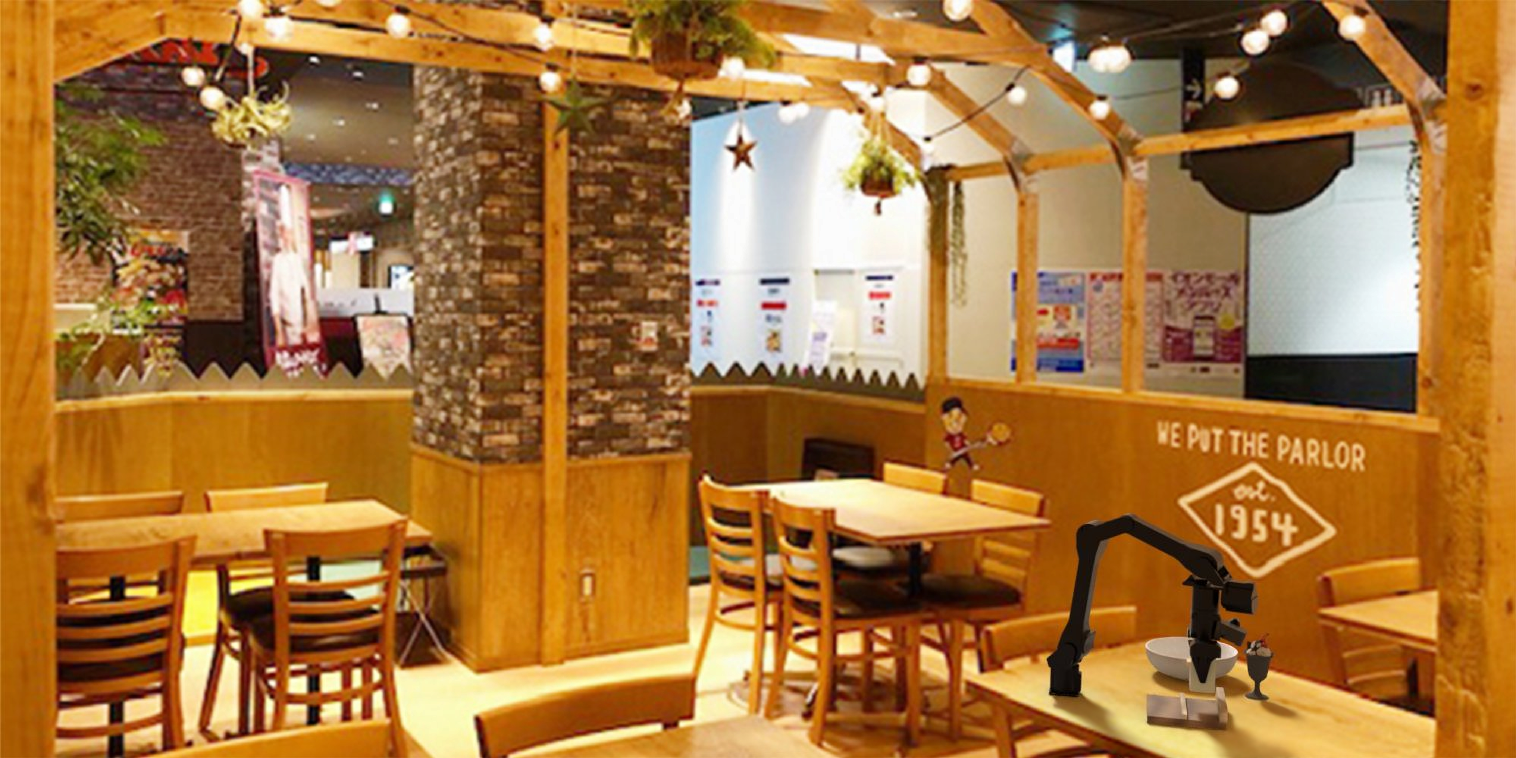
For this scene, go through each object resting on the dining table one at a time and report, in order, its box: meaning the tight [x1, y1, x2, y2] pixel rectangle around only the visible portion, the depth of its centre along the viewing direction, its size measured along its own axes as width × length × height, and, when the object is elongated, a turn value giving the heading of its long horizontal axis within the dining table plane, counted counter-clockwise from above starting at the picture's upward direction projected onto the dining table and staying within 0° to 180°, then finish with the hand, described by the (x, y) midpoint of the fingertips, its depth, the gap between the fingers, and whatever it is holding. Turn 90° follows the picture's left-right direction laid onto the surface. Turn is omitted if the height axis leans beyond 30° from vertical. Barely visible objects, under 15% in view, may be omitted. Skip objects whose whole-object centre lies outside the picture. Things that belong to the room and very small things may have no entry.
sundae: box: [1242, 632, 1275, 701], centre depth 308 cm, size 7×7×15 cm
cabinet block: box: [1186, 656, 1216, 694], centre depth 293 cm, size 6×5×8 cm
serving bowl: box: [1144, 636, 1239, 682], centre depth 325 cm, size 21×21×7 cm
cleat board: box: [1146, 686, 1229, 731], centre depth 295 cm, size 16×16×4 cm
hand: (1202, 679), depth 293 cm, fingers closed on cabinet block, 5 cm apart
